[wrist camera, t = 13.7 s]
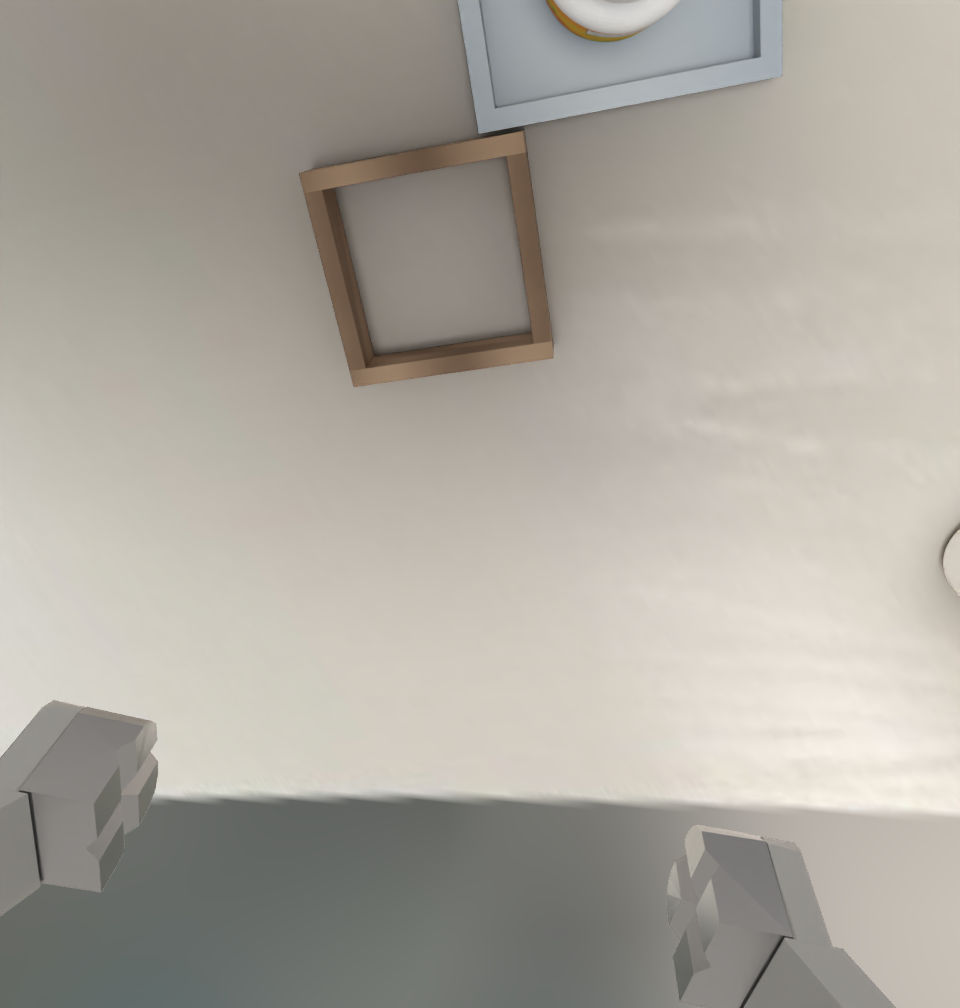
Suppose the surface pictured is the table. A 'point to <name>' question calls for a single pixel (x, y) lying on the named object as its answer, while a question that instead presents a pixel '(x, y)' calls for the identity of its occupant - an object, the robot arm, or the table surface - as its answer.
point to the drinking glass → (953, 562)
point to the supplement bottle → (609, 17)
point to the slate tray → (610, 58)
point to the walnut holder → (344, 283)
